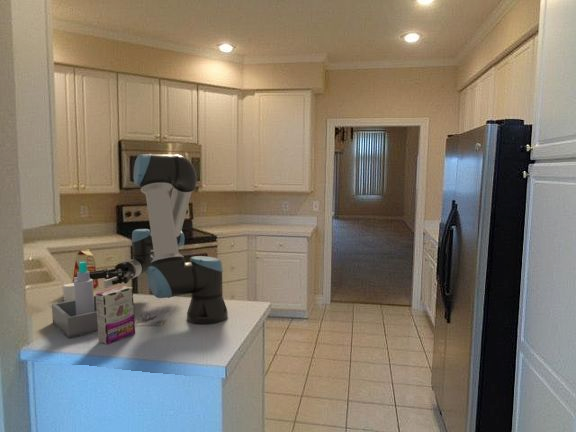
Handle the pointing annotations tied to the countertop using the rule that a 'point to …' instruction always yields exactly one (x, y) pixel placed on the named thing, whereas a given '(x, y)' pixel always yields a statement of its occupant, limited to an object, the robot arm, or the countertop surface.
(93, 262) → the milk carton
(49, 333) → the countertop surface
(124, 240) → the countertop surface
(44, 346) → the countertop surface
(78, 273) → the spray bottle
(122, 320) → the candy bar box
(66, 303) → the tote
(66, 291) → the white cylinder
